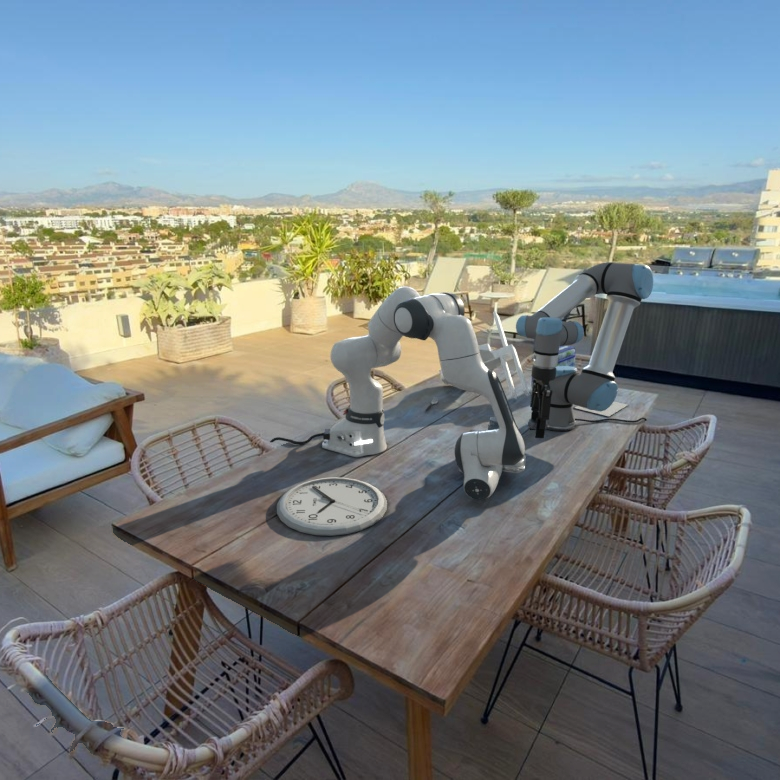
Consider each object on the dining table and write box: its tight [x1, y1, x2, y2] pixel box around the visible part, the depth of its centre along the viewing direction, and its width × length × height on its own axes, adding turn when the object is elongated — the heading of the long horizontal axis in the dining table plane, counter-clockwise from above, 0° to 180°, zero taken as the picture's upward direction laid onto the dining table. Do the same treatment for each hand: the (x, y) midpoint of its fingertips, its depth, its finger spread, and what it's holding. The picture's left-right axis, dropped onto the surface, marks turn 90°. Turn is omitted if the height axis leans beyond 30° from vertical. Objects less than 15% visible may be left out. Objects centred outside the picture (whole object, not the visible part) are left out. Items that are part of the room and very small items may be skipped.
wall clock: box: [276, 476, 388, 537], centre depth 142 cm, size 30×2×30 cm
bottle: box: [487, 416, 499, 430], centre depth 164 cm, size 5×5×17 cm
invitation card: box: [573, 401, 629, 418], centre depth 226 cm, size 21×1×15 cm
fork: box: [425, 396, 439, 412], centre depth 222 cm, size 3×16×2 cm, turn 160°
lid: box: [527, 418, 548, 431], centre depth 173 cm, size 6×6×2 cm
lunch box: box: [530, 345, 577, 389], centre depth 247 cm, size 26×11×21 cm, turn 134°
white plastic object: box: [438, 310, 531, 400], centre depth 245 cm, size 37×45×31 cm
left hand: (495, 448), depth 165 cm, fingers closed on bottle, 5 cm apart
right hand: (536, 433), depth 174 cm, fingers closed on lid, 6 cm apart
